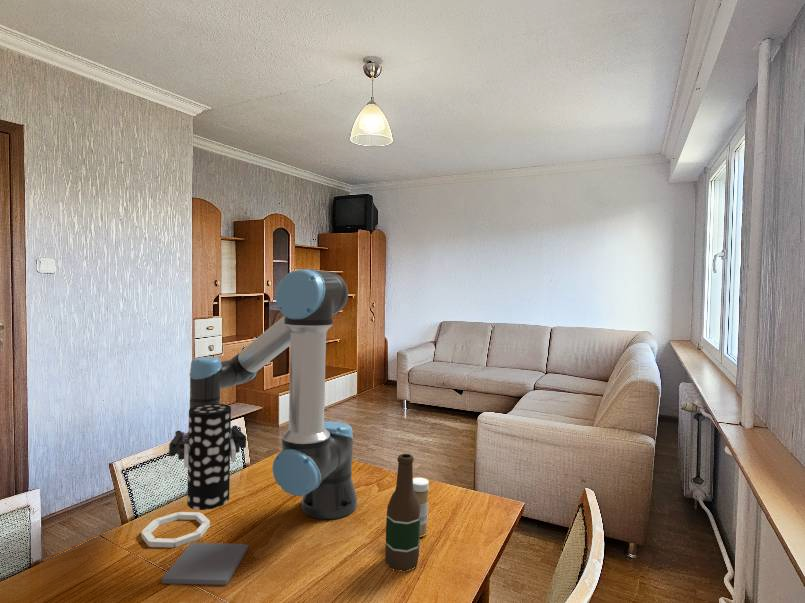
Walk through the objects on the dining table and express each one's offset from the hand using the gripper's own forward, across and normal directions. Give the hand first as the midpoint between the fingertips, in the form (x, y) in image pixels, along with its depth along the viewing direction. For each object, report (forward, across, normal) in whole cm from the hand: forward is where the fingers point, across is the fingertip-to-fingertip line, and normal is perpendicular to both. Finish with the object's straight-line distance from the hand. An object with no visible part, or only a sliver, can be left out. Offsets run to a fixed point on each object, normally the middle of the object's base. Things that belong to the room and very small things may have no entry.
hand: (210, 457), depth 94 cm
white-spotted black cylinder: (-5, 0, -11) cm, 12 cm away
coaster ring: (-22, +6, -25) cm, 34 cm away
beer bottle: (+10, -39, -25) cm, 48 cm away
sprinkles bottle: (+1, -48, -25) cm, 54 cm away
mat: (-5, 0, -25) cm, 25 cm away
